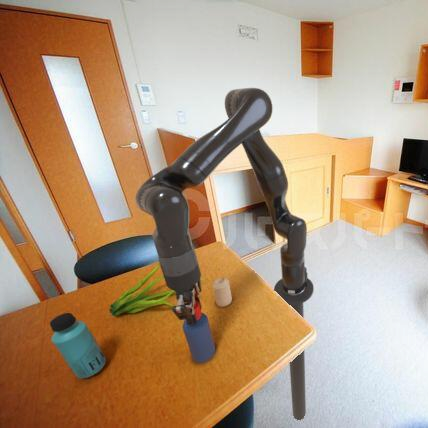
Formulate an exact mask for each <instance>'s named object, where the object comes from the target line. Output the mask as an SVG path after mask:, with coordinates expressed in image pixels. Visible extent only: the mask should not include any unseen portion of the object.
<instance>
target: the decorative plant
mask: <svg viewBox="0 0 428 428" xmlns="http://www.w3.org/2000/svg"><path fill="white" fill-rule="evenodd" d="M159 268H160V263H159V262H158V265H157V266H156V267H155V268H154V269H153V270H152V271H150V272H149V273H148V274H147V275H146V276H145V277H143V278H141V275H142V274H143V272H141V273H140V274H139V276H138V278H139V282H138V283H137V284H136V285H135V286H134V287H131V288H129V289H128V290H126V291H124V292H123V293H121V294H120V296H119V297H118V298H117V300H115V301H114V302H113V303H111V304H109V306H110V308H109V309H108V310H109V313H110V314H111V316H113V317H117V316H118V315H121V314H125V313H128V314H135V313H137V312H141V311H143V310H145V309H148V308H151V307H155V306H158V305H162V304H164V305H167V306H169V307H171V308H173V306H174V305H173V304H171V302H168V301H167V300H166V299H168V298H169V297H170V296H171V295H176V292H175V291H173V290H171V289H169V290H165V291H161V292H157V293H152V294H148V293H149V292H150V291H151V290H152V288H153V287H154V286H155V285H156V284H157V283H158V282H159V280H162V279H164V276H163V275H162V276H159V277H157V278H155V279H154V280H153V281H151V282H150V283H148V284H147V285H146V283H147V282H148V281H149V280H150V279H151V278H152V276H153V275H154V274H155V273H156V272H157V271H158V269H159ZM208 279H210V277H207V278H203V279H200V282H202V281H204V280H208ZM144 285H146V287H144ZM135 294H136V295H135Z"/></svg>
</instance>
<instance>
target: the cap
mask: <svg viewBox="0 0 428 428" xmlns="http://www.w3.org/2000/svg"><path fill="white" fill-rule="evenodd" d="M190 302H191V301H190ZM186 303H188V302H186ZM188 309H189V310H190V308H188ZM194 311H195V315H196V318H197V320H198V319H199V318H200V317H201V315H202V313H203V312H202V309H200V305H199V302H198V301H195V305H194ZM185 320H186V319H185Z"/></svg>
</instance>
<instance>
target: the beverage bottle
mask: <svg viewBox="0 0 428 428" xmlns="http://www.w3.org/2000/svg"><path fill="white" fill-rule="evenodd" d="M49 326H50V328H51V329H50V330H52V332H53V334H52V336H51V340H50V341H51V342H52V344H53V345H54V346H55V347H56V349H57V350H58V352H59V354H61V356H62V357H63V359H64V360H65V361H64V362H65V363H66V365H67V366H68V367H69V369H70V370H71V372H72V374H73V375H74V376H75V377H77V378H78V379H88V378H89V377H92V376H95V375H96V374H97V373H99V372H100V371H101V370H102V369H103V368H104V366H105V364H106V363H107V362H106V355H105V354H104V351H103V349H102V348H101V346H100V345H99V343H98V341H96V340H97V339H96V338H95V336H94V334H93V333H92V331H91V329H90V328H89V327H88V326H87V323H86V322H85V321H82V320H77V318H76V317H75V316H74V315H73V313H72V312H64V313H61V314H59V315H57V316H55V317H54V318H53V319H51V321H50V322H49Z"/></svg>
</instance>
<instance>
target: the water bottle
mask: <svg viewBox="0 0 428 428" xmlns="http://www.w3.org/2000/svg"><path fill="white" fill-rule="evenodd" d="M201 313H202V315H201V317H200V318H199V319H198V320H197V323H196V324H195V325H188V324H187V321H186V320H183V323H182V331H183V333H184V336H185V340H186V343H187V346H188V349H189V352H190V355H191V358H192V361H193V362H195V363H196V364H203V363H206V362H208V361H209V360H211V359H212V358H213V357H214V355H215V353H216V345H215V341H214V337H213V333H212V330H211V327H210V326H211V325H210V322H209V317H208V315H207V314H206V313H204V312H201Z"/></svg>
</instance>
